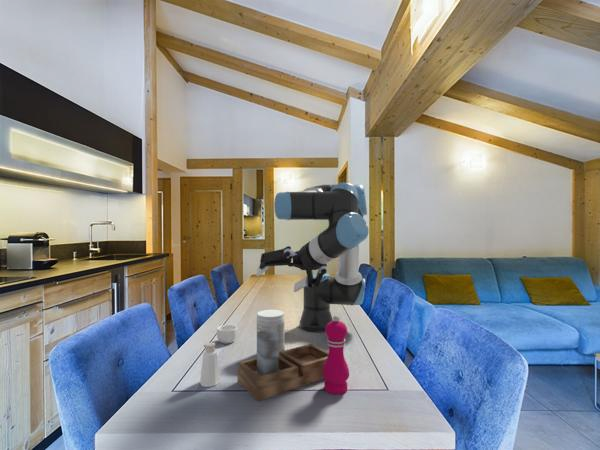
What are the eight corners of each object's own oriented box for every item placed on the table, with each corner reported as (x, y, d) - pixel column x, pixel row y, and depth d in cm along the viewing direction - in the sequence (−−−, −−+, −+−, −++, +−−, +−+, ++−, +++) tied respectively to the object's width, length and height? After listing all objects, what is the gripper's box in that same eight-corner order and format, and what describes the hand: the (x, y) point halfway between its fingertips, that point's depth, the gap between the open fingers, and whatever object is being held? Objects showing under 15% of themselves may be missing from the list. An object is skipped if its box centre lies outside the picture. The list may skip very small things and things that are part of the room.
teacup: (233, 346, 120) (233, 331, 120) (213, 344, 122) (213, 330, 122) (241, 337, 130) (241, 323, 130) (223, 335, 131) (223, 322, 131)
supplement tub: (278, 348, 118) (278, 308, 118) (289, 358, 109) (289, 314, 110) (252, 353, 114) (253, 311, 114) (261, 363, 105) (262, 317, 105)
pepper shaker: (212, 376, 96) (212, 339, 96) (223, 382, 92) (223, 343, 92) (195, 383, 92) (196, 344, 92) (207, 389, 88) (207, 348, 88)
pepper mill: (320, 382, 92) (321, 312, 92) (345, 382, 93) (346, 311, 93) (324, 396, 85) (325, 319, 85) (352, 395, 86) (352, 319, 86)
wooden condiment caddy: (320, 357, 110) (320, 314, 110) (345, 370, 100) (346, 323, 100) (237, 381, 92) (237, 330, 93) (258, 401, 82) (258, 343, 82)
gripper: (277, 244, 79) (238, 275, 93) (354, 281, 89) (308, 304, 103) (281, 220, 83) (244, 254, 98) (354, 258, 93) (310, 283, 108)
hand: (276, 280), depth 100 cm, fingers open, 13 cm apart
